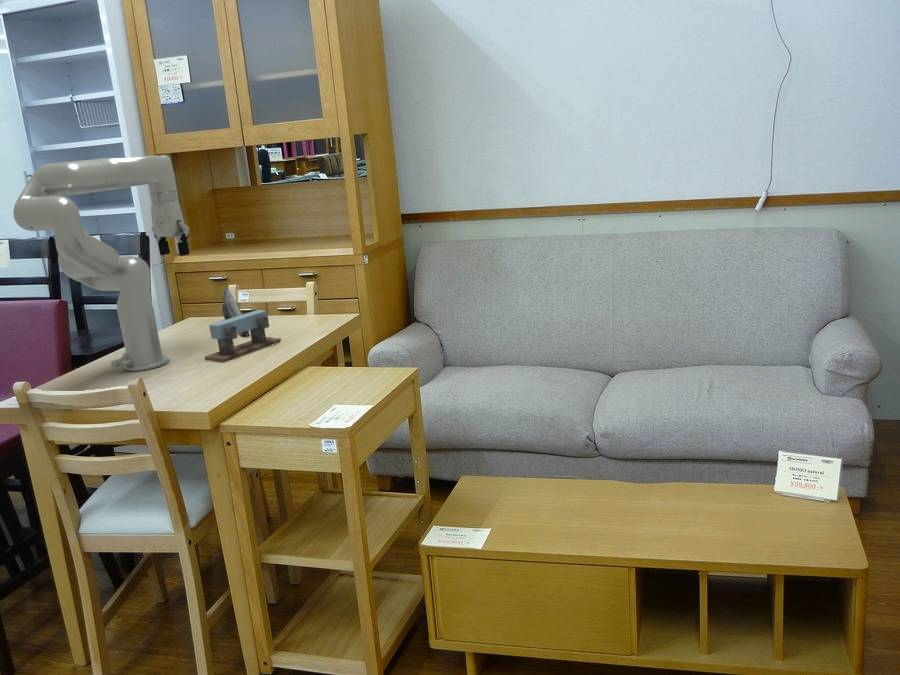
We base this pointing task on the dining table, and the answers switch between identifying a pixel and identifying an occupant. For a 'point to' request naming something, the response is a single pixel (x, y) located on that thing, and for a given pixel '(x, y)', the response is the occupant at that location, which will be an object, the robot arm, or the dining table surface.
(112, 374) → the dining table surface
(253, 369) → the dining table surface
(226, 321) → the rail
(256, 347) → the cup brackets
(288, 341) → the dining table surface
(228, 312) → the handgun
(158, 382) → the dining table surface
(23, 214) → the robot arm
